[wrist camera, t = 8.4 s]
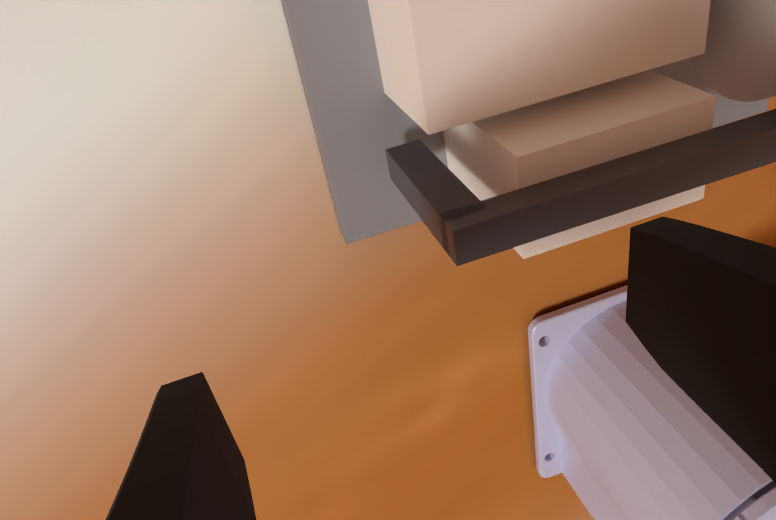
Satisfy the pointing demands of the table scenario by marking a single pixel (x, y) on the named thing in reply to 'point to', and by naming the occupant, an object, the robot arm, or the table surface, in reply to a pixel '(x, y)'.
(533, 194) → the glasses
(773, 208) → the table surface
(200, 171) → the table surface
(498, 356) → the table surface
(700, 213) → the table surface
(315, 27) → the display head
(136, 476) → the robot arm
